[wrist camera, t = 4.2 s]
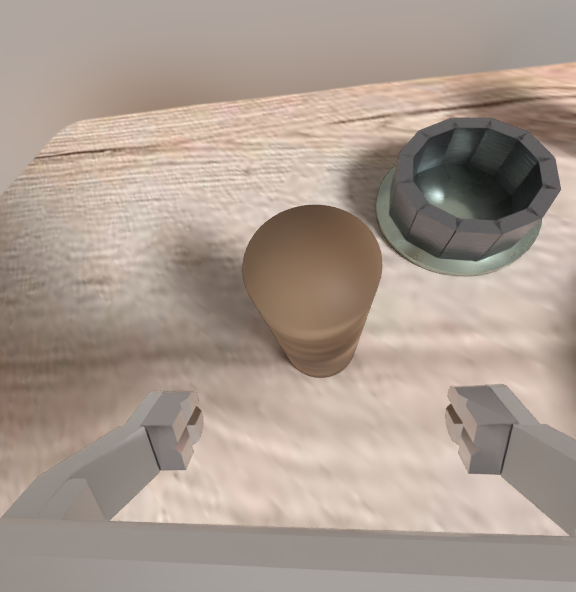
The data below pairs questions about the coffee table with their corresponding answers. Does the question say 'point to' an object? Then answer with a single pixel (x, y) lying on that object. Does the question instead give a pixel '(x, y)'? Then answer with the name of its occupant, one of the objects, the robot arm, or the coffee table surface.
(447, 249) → the cup holder
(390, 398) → the coffee table surface
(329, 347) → the brown rounded cylinder
